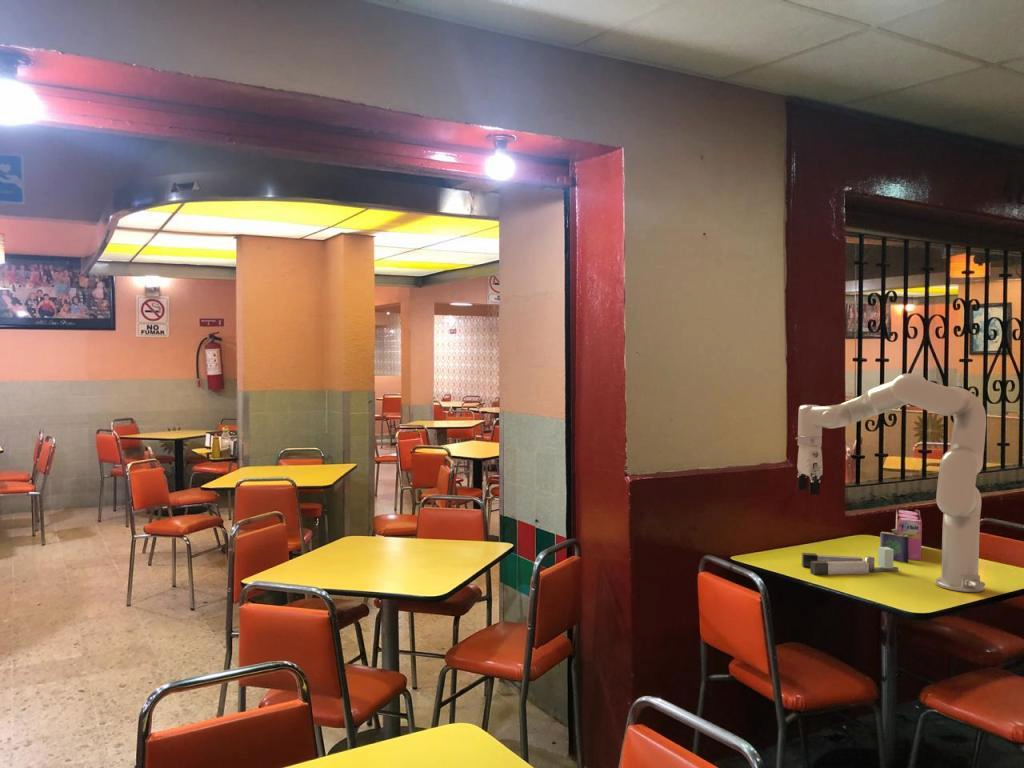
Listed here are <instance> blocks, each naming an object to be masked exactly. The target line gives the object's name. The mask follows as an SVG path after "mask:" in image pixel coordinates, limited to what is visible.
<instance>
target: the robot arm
mask: <svg viewBox="0 0 1024 768" xmlns="http://www.w3.org/2000/svg"><path fill="white" fill-rule="evenodd" d="M905 405H911V406H914V407H916V408H920V409H922V410H925V411H928V412H931V413H933V414H936V415H941V416H944V417H949V416H952V417H953V426H952V430H951V431H952V432H951V440H950V441H951V442H950V448H949V450H947V451H945V453H944V454H943V455H942V457H941V459H940V463H939V470H938V479H937V484H936V485H937V487H936V499H935V500H936V504H937V507H938V509H939V510H940V511H941V513H943V515H942V532H941V533H942V534H941V535H942V536H941V537H942V539H941V577H938V578H936V579H935V584H936V585H937V587H940V588H943V589H947V590H951V591H954V592H964V593H979V592H983V591H984V590H985V587H986V583H985V582H984V581H981V575H979V565H980V561H979V559H980V558H979V557H980V554H979V553H980V528H981V527H980V526H981V525H980V523H981V511H982V496H981V492H980V490H979V489H978V488H977V486H976V484H977V483H976V482H977V476H978V474H979V473H980V472H981V470H983V465H984V452H985V444H986V431H987V429H986V428H987V413H986V409H985V407H984V405H983V403H982V402H981V400H980V398H978V397H977V395H975V394H974V393H973V392H971V391H969V390H967V389H965V388H963V387H960V386H945V385H943V384H939V383H936V382H933V381H930V380H928V379H927V380H926V378H925V377H924V376H922V374H919V373H914V372H913V373H912V372H911V373H902V374H900V375H897V376H896V377H895V378H894V379H892V380H890V381H887V382H885V383H881V384H878V385H876V386H874V387H871V388H868V389H867V390H866V391H865V392H864V393H863V394H862V395H859V396H858V397H855V398H853V399H849V400H848V401H845V402H842V403H839V404H832V405H825V406H824V405H823V406H822V405H821V406H820V405H818V404H802V405H800V406H799V407H798V418H797V420H798V421H797V446H798V453H797V463H796V467H797V490H800V491H802V490H804V491H805V490H808V493H809V495H814V496H815V495H820V490H821V489H820V487H821V486H820V485H821V478H822V476H823V453H822V452H823V450H822V443H823V442H822V441H823V440H822V439H823V438H822V436H823V428H825V429H838V428H843V427H847V426H850V425H852V424H854V423H858V422H861V421H863V420H866V419H868V418H871V417H874V416H875V417H876V416H878V415H881V414H883V413H886V412H890V411H892V410H895V409H897V408H900V407H902V406H905ZM807 476H808V477H809V480H810V481H808V477H807ZM808 482H809V483H808ZM808 484H809V487H808Z"/></svg>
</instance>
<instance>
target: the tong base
mask: <svg viewBox="0 0 1024 768" xmlns="http://www.w3.org/2000/svg"><path fill="white" fill-rule="evenodd" d="M809 568H810V570H809V571H810V574H812V575H814V576H829V575H831V576H832V575H863V574H864V575H865V574H866V575H867V574H870V573H875V572H898V571H899V567H897V566H893V568H883V567H880V566H878V567H875V557H874V556H864V560H863V561H834V562H825V561H811V567H809Z"/></svg>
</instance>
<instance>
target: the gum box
mask: <svg viewBox="0 0 1024 768" xmlns="http://www.w3.org/2000/svg"><path fill="white" fill-rule="evenodd" d="M922 527H923V522H922V518H921V512H920V510H919V509H915V510H914V511H911V510H910V511H909V510H904V509H903V510H902V509H901V508H896V511H895V529H897V530H896V531H897V532H899V533H901V534H904V535H907V536H908V539H909V540H908V553H909V554H908V555H909V557H908V560H913V561H914V560H915V561H921V560H922V531H923V528H922Z"/></svg>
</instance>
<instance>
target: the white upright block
mask: <svg viewBox="0 0 1024 768" xmlns="http://www.w3.org/2000/svg"><path fill="white" fill-rule="evenodd" d="M877 548H878V551H877V566H878V567H883V568H893V567H894V561H893V554H894V549H891V548H889V547H880V546H878V547H877Z"/></svg>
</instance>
